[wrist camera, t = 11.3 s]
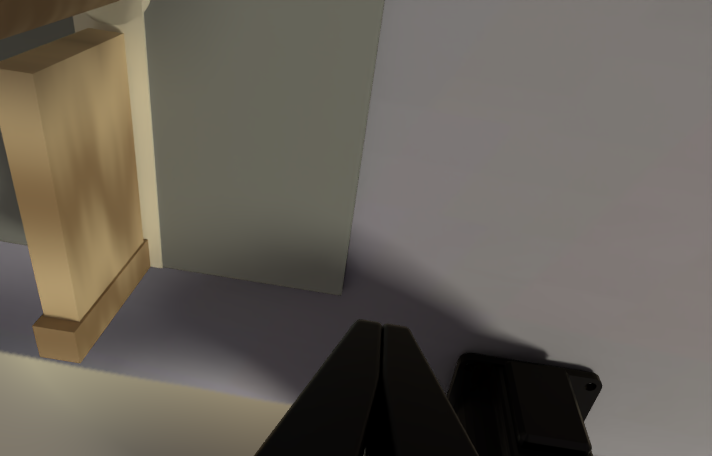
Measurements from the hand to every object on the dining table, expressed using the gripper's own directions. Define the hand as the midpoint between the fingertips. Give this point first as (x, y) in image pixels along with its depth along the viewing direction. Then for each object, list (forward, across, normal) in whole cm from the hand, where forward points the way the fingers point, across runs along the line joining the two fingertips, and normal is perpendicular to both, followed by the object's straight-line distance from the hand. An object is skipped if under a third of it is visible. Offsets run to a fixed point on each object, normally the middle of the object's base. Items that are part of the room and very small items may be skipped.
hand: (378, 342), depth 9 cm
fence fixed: (+12, +10, +2) cm, 16 cm away
